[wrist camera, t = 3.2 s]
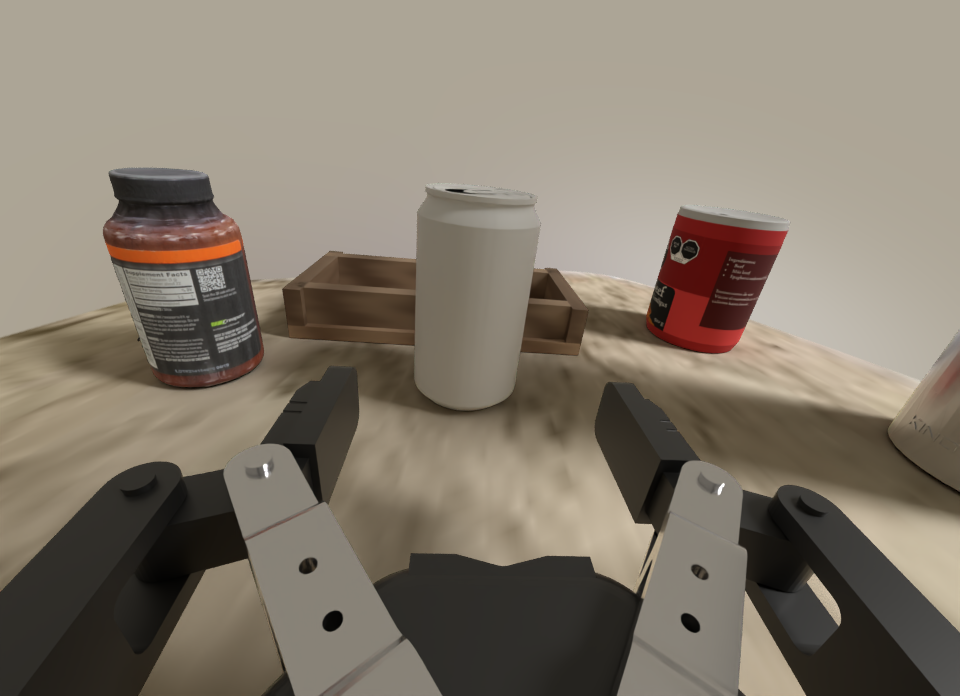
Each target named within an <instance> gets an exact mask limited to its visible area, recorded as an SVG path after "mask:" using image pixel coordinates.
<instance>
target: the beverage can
mask: <svg viewBox="0 0 960 696" xmlns="http://www.w3.org/2000/svg"><path fill="white" fill-rule="evenodd" d="M425 191H426V192H427V198H426V199H425V201H424V202H423V204H422V205H421V206H420V208H419V209H418V211H417V254H416V305H415V355H414V380H415V383H416V386H417V388H418V389H419V390H420V391H421V392H422V393H423V394H424V395H425V396H426V397H428V398H429V399H431V400H432V401H433V402H435V403H437V404H438V405H441V406H443V407H446V408H449V409H454V410H462V411H473V410H480V409H484V408H488V407H490V406H492V405H495V404H498V403H500V402H502V401H503V400H505V399H506V398H508V397H509V396H510V394H511V393H512V391H513V389H514V387H515V381H516V375H517V369H518V363H519V356H520V350H521V344H522V338H523V332H524V325H525V319H526V313H527V307H528V301H529V294H530V288H531V282H532V276H533V269H534V263H535V257H536V251H537V244H538V237H539V232H540V226H541V223H540V220H539V218H538V215H537V213H536V211H535V208H534V205H535V203H537V196H535V195H533V194H529V193H525V192H520V191H515V190H510V189H502V188H495V187H487V186H477V185H465V184H428V185H426V190H425Z"/></svg>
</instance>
